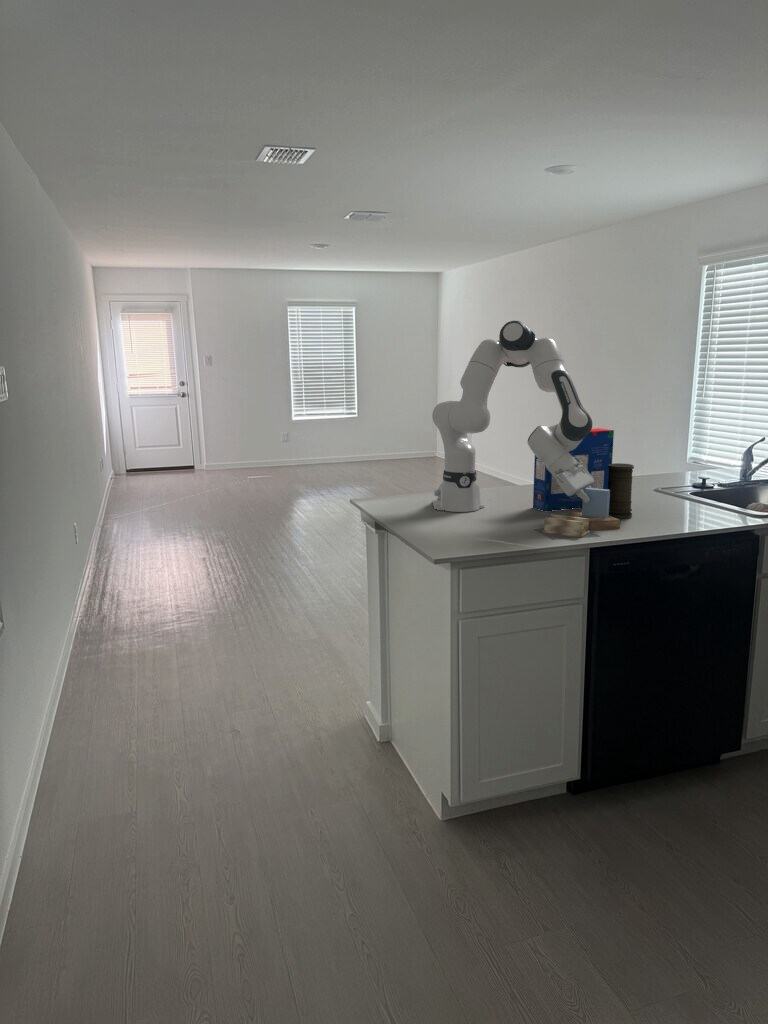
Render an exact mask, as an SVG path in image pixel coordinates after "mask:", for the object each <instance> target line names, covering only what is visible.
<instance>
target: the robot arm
mask: <svg viewBox="0 0 768 1024" xmlns="http://www.w3.org/2000/svg"><path fill="white" fill-rule="evenodd" d="M499 331H500V332H499V335H498V337H499V338H498V340H495V339H490V338H488V339H484V340H482V341H481V342H480V343H479V345H478V346H477V347H476V348H475V350H474V352H473V353H472V356H471V357H470V360H469V361H468V363H467V366H466V368H465V370H464V371H463V374H462V377H461V378H460V382H459V384H460V387H461V389H462V395H461V398H460V400H459V401H458V400H446V401H443V402H439V403H438V404H437V405H435V406H434V408H433V411H432V414H431V415H432V422H433V424H434V425H435V426H436V427H437V429H438V432H439V434H440V437H441V440H442V444H443V450H444V470H443V472H442V482H441V483H440V484H439V486H438V488H437V489H434V496H435V497H437V498H435V499H432V500H431V504H432V503H433V504H432V506H434V507H433V509H434V510H435V509H437V510H436V511H444V510H445V511H444V512H452V513H468V512H474V511H478V510H480V509H483V508H485V504H484V503H481V487H480V485H479V483H477V470H476V448H475V446H474V445H473V444H472V443H471V441H470V439H469V435H468V434H471V435H473V434H478V433H479V434H480V433H483V432H484V431H486V430H487V429H488V427H489V426H490V424H491V412H490V411H489V408H488V398H489V394H490V391H491V389H492V387H493V384H494V381H495V380H496V377H497V376H498V374H499V371H500V369H501V367H502V366H503V365H504V366H505V367H514V368H524V367H528V366H529V365H530V366H531V369H532V373H533V376H534V380H535V383H536V384H537V387H538V388H539V390H541V391H543V392H546V393H555V395H556V398H557V401H558V403H559V406H560V408H561V416H560V420H559V423H557V424H554V425H541V424H540V425H538V426H537V427H536V428H535V429H533V431H532V432H531V433H530V435H529V436H528V438H527V445H528V448H530V450H531V452H532V453H533V455H534V456H535V455H536V457H537V458H538V459H539V460H540V461H541V462H543V463H544V464H545V466H546V468H547V469H548V471H549V472H550V473H551V474H552V475H553V476H554V478H555V479H556V481H557V483H558V485H559V486H560V487H561V489H562V490H563V491H564V492H565V494H566V495H568V496H571V495H573V494H575V493H576V494H577V496H579V497H580V498H582V499H583V500H584V501H585V502H586V503H587V502H589V501H590V500H591V498H590V497H589V495H586V494H585V493H584V492H583V489H584V488H592V487H591V486H590V485H591V484H593V483H594V479H593V477H592V476H591V474H590V473H589V472H588V471H587V469H586V468H585V467H584V466H583V465H581V463H582V462H581V460H580V459H579V458H575V457H573V456H571V455H570V453H569V452H570V451H572V450H574V449H575V448H576V447H577V446H578V445H579V444H580V443H581V442H582V440H583V439H584V438H585V437H586V436H587V435H588V434H589V433H590V431H591V429H593V420H592V418H591V416H590V414H589V412H588V411H587V410H586V409H585V408H584V406H583V404H582V403H581V399H580V397H579V395H578V392H577V389H576V387H575V385H574V382H573V380H572V379H571V376H570V375H569V373H568V370H567V367H566V364H565V359H564V358H563V355H562V352H561V349H560V348H559V346H558V345H557V343H556V341H555V340H554V339H553V338H550V337H542V338H536V333H535V332H534V331H532V329H531V328H529V327H528V326H527V325H526V324H525V323H524V322H522V321H520V320H511V321H508V322H506V323H504V325H503V326H502V327H501V329H500V330H499Z"/></svg>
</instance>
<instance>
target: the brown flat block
mask: <svg viewBox="0 0 768 1024" xmlns="http://www.w3.org/2000/svg"><path fill="white" fill-rule="evenodd" d="M570 516H571V517H580V518H589V524H588V530H589V531H598V530H599V531H600V530H615V529H620V528H621V519H617V518H614V517H612V516H610V515H609V517H608V518H599V517H590V516H582V511H576V512H571V513H570Z"/></svg>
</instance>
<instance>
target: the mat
mask: <svg viewBox="0 0 768 1024" xmlns="http://www.w3.org/2000/svg"><path fill="white" fill-rule="evenodd" d="M533 530H534V531H535V532H538V534H539V533H540V534H541V535H543V536H544V537H547V538H548V539H550V540H552V541H553V540H564V539H565V540H566V539H567V540H568V539H582V538H598V537H600V535H599V534H597V533H594V532H593V531H592V530H590V529H588V531H590V533H589V534H587V535H586V536H584V537H575V536H567V535H560V534H552V533H544V532H542V530H544V527H541V528H540V527H539V528H533Z"/></svg>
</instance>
